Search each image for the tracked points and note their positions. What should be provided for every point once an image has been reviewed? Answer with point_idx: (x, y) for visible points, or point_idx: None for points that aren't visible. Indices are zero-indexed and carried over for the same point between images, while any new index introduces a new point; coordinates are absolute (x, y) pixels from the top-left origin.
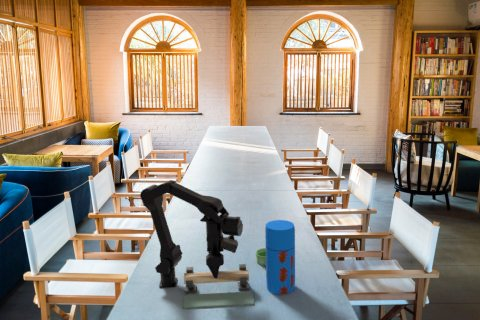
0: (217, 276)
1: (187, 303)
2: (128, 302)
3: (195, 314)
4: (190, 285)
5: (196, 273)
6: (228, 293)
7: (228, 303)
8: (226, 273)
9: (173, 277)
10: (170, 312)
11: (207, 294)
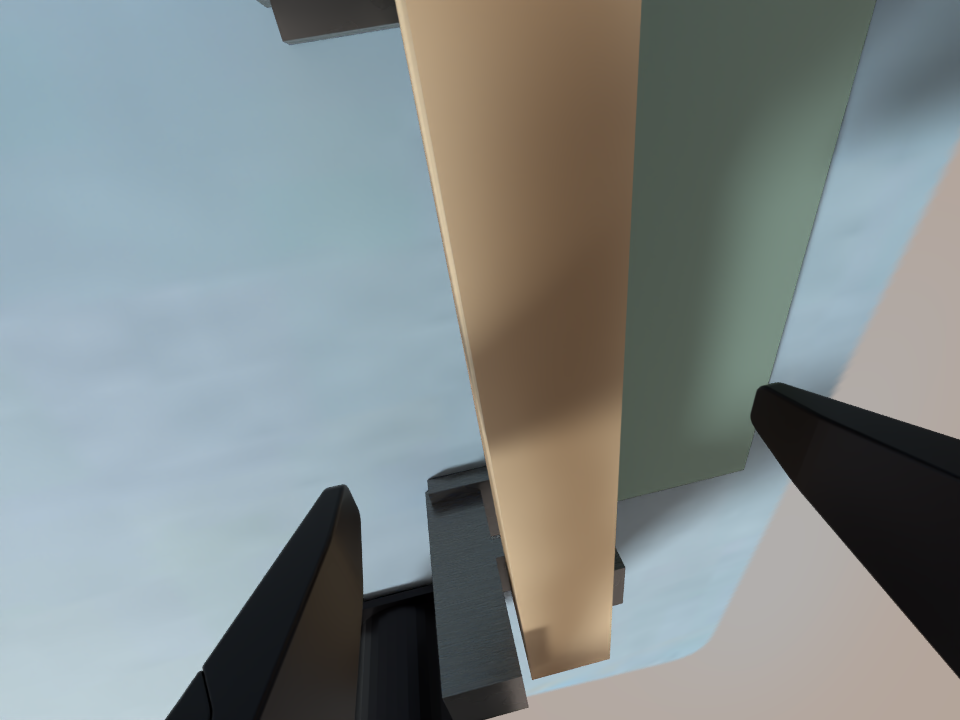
0: (816, 396)
1: (706, 459)
2: (611, 659)
3: (832, 374)
4: None
5: (546, 611)
6: None
7: (820, 121)
8: (581, 261)
9: (432, 655)
10: (752, 502)
11: None
